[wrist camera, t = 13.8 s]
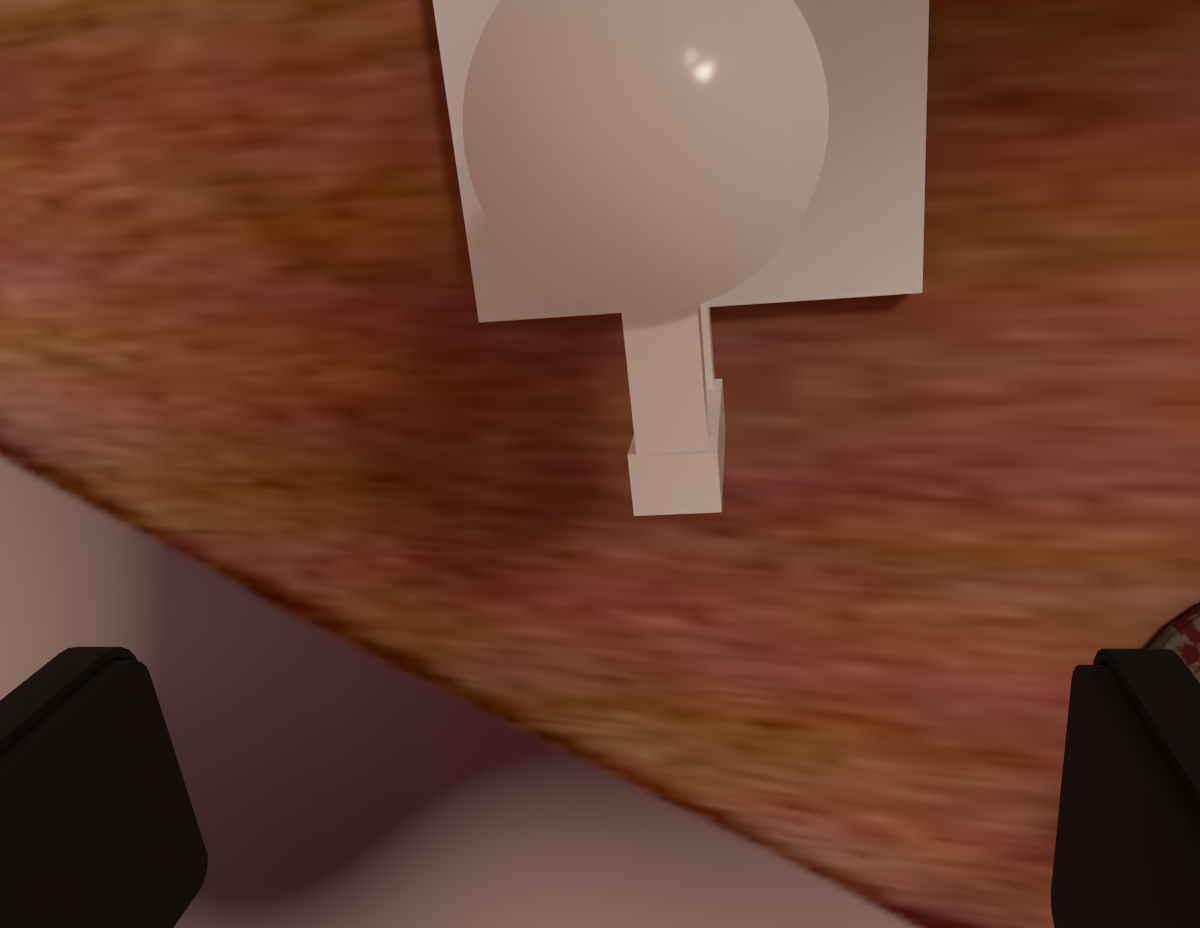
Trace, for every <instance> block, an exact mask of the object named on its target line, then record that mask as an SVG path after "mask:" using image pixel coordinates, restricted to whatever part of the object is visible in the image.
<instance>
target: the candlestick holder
mask: <svg viewBox="0 0 1200 928" xmlns="http://www.w3.org/2000/svg"><path fill="white" fill-rule="evenodd" d="M1148 649H1170V650H1174V651H1175V652H1176V653H1177V654H1178V655H1179V656H1180V657H1181V659H1182V660H1183V661H1184V663H1185V664H1186V665H1187V667H1188V668H1189V669H1190V671H1191V672H1192V673H1193V675H1194V676H1195V677H1196V679H1197V680H1198V681H1199V683H1200V604H1198V605H1197V606H1195V607H1194V608H1192V609H1191V610H1190V611H1188V612H1187V613H1185V614H1184V615H1182V616H1181V617H1179V618H1178V619H1177V620H1175V621H1174V622H1172V623H1171V624H1169V625H1168V626H1167V627H1166V629H1165V630H1164V631H1163V632H1162V633H1161V634H1160V635H1159V636H1158V638H1157V639H1156V640H1155V641H1154V642H1153V643H1152V644H1151V645H1150V646H1149V648H1148Z"/></svg>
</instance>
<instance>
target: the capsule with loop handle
mask: <svg viewBox="0 0 1200 928" xmlns="http://www.w3.org/2000/svg"><path fill="white" fill-rule="evenodd" d="M828 122H829V106H828V94H827V84H826V79H825V75H824V70H823V65H822V61H821V57H820V54H819V52H818V49H817V46H816V43H815V40H814V38H813V35H812V33H811V31H810V29H809V27H808V25H807V23H806V21H805V19H804V17H803V15H802V13H801V11H800V10H799V8H798V7H797V5H796V4H795V2H794V1H793V0H501V1H500V2H499V4H498V5H497V6H496V8H495V10H494V11H493V13H492V15H491V17H490V18H489V20H488V22H487V24H486V25H485V27H484V29H483V31H482V34H481V36H480V38H479V41H478V43H477V46H476V48H475V51H474V53H473V56H472V60H471V64H470V68H469V71H468V75H467V79H466V86H465V93H464V100H463V124H462V129H463V140H464V150H465V156H466V161H467V165H468V170H469V175H470V178H471V181H472V184H473V187H474V190H475V193H476V196H477V198H478V201H479V203H480V205H481V207H482V209H483V211H484V213H485V215H486V217H487V219H488V221H489V223H490V224H491V226H492V227H493V229H494V230H495V232H496V234H497V235H498V237H499V238H500V240H501V241H502V242H503V244H504V245H505V246H506V247H507V248H508V249H509V251H510V252H511V253H512V254H513V255H514V257H515V258H516V259H517V260H518V261H519V262H520V263H521V264H523V265H524V266H525V267H526V268H527V269H528V270H529V271H530V272H531V273H532V274H533V275H535V276H536V277H538V278H539V279H540V280H542V281H543V282H544V283H546V284H547V285H549V286H550V287H552V288H553V289H555V290H557V291H559V292H561V293H563V294H564V295H566V296H568V297H570V298H572V299H575V300H577V301H580V302H582V303H585V304H588V305H590V306H594V307H598V308H602V309H606V310H610V311H615V312H621V313H622V323H623V332H624V342H625V351H626V361H627V371H628V380H629V390H630V399H631V409H632V418H633V428H634V436H633V439H632V442H631V445H630V449H629V452H628V455H627V456H628V465H629V474H630V483H631V493H632V502H633V511H634V516H644V515H667V514H691V513H714V512H722V495H723V474H724V453H725V431H726V429H725V414H724V399H723V384H722V379H715V374H714V360H713V346H712V331H711V317H710V303H709V300H712V299H714V298H716V297H719V296H721V295H723V294H725V293H727V292H728V291H730V290H732V289H733V288H735V287H737V286H738V285H740V284H742V283H743V282H745V281H746V280H747V279H748V278H750V277H751V276H752V275H754V274H755V273H756V272H758V271H759V270H760V269H761V268H762V267H763V266H764V265H765V264H766V263H767V262H768V261H769V260H770V259H771V258H772V257H773V256H774V255H775V254H776V253H777V252H778V251H779V250H780V249H781V247H782V246H783V245H784V244H785V242H786V241H787V240H788V238H789V237H790V236H791V235H792V233H793V232H794V230H795V229H796V227H797V225H798V223H799V222H800V220H801V218H802V217H803V215H804V213H805V212H806V210H807V207H808V205H809V203H810V201H811V198H812V196H813V194H814V192H815V189H816V187H817V183H818V180H819V177H820V173H821V170H822V167H823V163H824V157H825V151H826V146H827V140H828Z"/></svg>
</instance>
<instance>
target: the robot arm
mask: <svg viewBox="0 0 1200 928" xmlns="http://www.w3.org/2000/svg"><path fill="white" fill-rule="evenodd" d="M207 860H208V859H207V852H206V849H205V846H204V842H203V839H202V836H201V833H200V830H199V827H198V824H197V820H196V818H195V814H194V811H193V808H192V805H191V802H190V799H189V795H188V792H187V789H186V786H185V783H184V780H183V777H182V773H181V770H180V767H179V764H178V761H177V758H176V755H175V751H174V748H173V745H172V742H171V739H170V736H169V733H168V729H167V726H166V723H165V720H164V717H163V714H162V711H161V707H160V704H159V702H158V699H157V695H156V692H155V689H154V685H153V682H152V680H151V676H150V674H149V671H148V669H147V667H146V666H145V665H144V664H143V663H142V662H139V661H137V659H136V657H135V656H134V654H133V653H131V652H130V651H129V650H128V649H125V648H122V647H73V648H68V649H66V650H64V651H63V652H61V653H59V654H58V655H57V656H56V657H54V658H53V659H52V660H51V661H49V662H48V663H47V664H46V665H44V666H43V667H42V668H41V669H39V670H38V671H37V672H35V673H34V674H33V675H32V676H30V677H29V678H28V679H27V680H26V681H24V682H23V683H22V684H20V685H19V686H18V687H17V688H15V689H14V690H13V691H12V692H11V693H9V694H8V695H7V696H5V697H4V698H3V699H2V700H0V928H173V927H174V926H175V924H176V923H177V922H178V920H179V919H180V917H181V916H182V914H183V913H184V911H185V910H186V909H187V907H188V906H189V904H190V903H191V902H192V900H193V899H194V897H195V896H196V895H197V893H198V891H199V890H200V888H201V886H202V884H203V881H204V878H205V876H206V871H207ZM1051 908H1052V916H1053V922H1054V926H1055V928H1200V683H1199V681H1198V680H1197V679H1196V677H1195V676H1194V675H1193V673H1192V672H1191V671H1190V669H1189V668H1188V667H1187V665H1186V664H1185V663H1184V661H1183V660H1182V659H1181V657H1180V656H1179V655H1178V654H1177V653H1176V652H1175V651H1174V650H1170V649H1101V650H1099V651H1098V652H1097V654H1096V656H1095V658H1094V662H1093V665H1078V666H1076V667H1075V669H1074V671H1073V675H1072V681H1071V691H1070V701H1069V712H1068V722H1067V732H1066V743H1065V753H1064V763H1063V773H1062V784H1061V794H1060V804H1059V815H1058V825H1057V835H1056V846H1055V856H1054V866H1053V876H1052V887H1051Z"/></svg>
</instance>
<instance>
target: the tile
mask: <svg viewBox="0 0 1200 928" xmlns="http://www.w3.org/2000/svg"><path fill="white" fill-rule="evenodd" d="M500 1H501V0H433V7H434V14H435V21H436V28H437V35H438V42H439V48H440V55H441V62H442V69H443V76H444V83H445V90H446V97H447V104H448V111H449V118H450V125H451V132H452V139H453V146H454V153H455V160H456V167H457V173H458V180H459V187H460V194H461V201H462V208H463V215H464V222H465V229H466V236H467V243H468V250H469V257H470V264H471V271H472V278H473V285H474V292H475V298H476V305H477V312H478V319H479V322H493V321H508V320H523V319H538V318H553V317H568V316H583V315H598V314H613V313H621V312H615V311H610V310H606V309H602V308H598V307H594V306H590V305H588V304H585V303H582V302H580V301H577V300H575V299H572V298H570V297H568V296H566V295H564V294H563V293H561V292H559V291H557V290H555V289H553V288H552V287H550V286H549V285H547V284H546V283H544V282H543V281H542V280H540V279H539V278H538V277H536V276H535V275H533V274H532V273H531V272H530V271H529V270H528V269H527V268H526V267H525V266H524V265H523V264H521V263H520V262H519V261H518V260H517V259H516V258H515V257H514V255H513V254H512V253H511V252H510V251H509V249H508V248H507V247H506V246H505V245H504V244H503V242H502V241H501V240H500V238H499V237H498V235H497V234H496V232H495V230H494V229H493V227H492V226H491V224H490V223H489V221H488V219H487V217H486V215H485V213H484V211H483V209H482V207H481V205H480V203H479V201H478V198H477V196H476V193H475V190H474V187H473V184H472V181H471V178H470V175H469V170H468V165H467V161H466V156H465V150H464V140H463V129H462V124H463V100H464V93H465V86H466V79H467V75H468V71H469V68H470V64H471V60H472V56H473V53H474V51H475V48H476V46H477V43H478V41H479V38H480V36H481V34H482V31H483V29H484V27H485V25H486V24H487V22H488V20H489V18H490V17H491V15H492V13H493V11H494V10H495V8H496V6H497V5H498V4H499V2H500ZM793 1H794V2H795V4H796V5H797V7H798V8H799V10H800V11H801V13H802V15H803V17H804V19H805V21H806V23H807V25H808V27H809V29H810V31H811V33H812V35H813V38H814V40H815V43H816V46H817V49H818V52H819V54H820V57H821V61H822V65H823V70H824V75H825V79H826V84H827V94H828V106H829V122H828V140H827V146H826V151H825V157H824V163H823V167H822V170H821V173H820V177H819V180H818V183H817V187H816V189H815V192H814V194H813V196H812V198H811V201H810V203H809V205H808V207H807V210H806V212H805V213H804V215H803V217H802V218H801V220H800V222H799V223H798V225H797V227H796V229H795V230H794V232H793V233H792V235H791V236H790V237H789V238H788V240H787V241H786V242H785V244H784V245H783V246H782V247H781V249H780V250H779V251H778V252H777V253H776V254H775V255H774V256H773V257H772V258H771V259H770V260H769V261H768V262H767V263H766V264H765V265H764V266H763V267H762V268H761V269H760V270H759V271H758V272H756V273H755V274H754V275H752V276H751V277H750V278H748V279H747V280H746V281H745V282H743V283H742V284H740V285H738V286H737V287H735V288H733V289H732V290H730V291H728V292H727V293H725V294H723V295H721V296H719V297H716V298H714V299H712V300H709V303H710V307H718V306H733V305H748V304H763V303H777V302H792V301H807V300H822V299H837V298H852V297H867V296H882V295H897V294H912V293H922V285H923V243H924V200H925V158H926V115H927V73H928V30H929V0H793Z"/></svg>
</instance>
